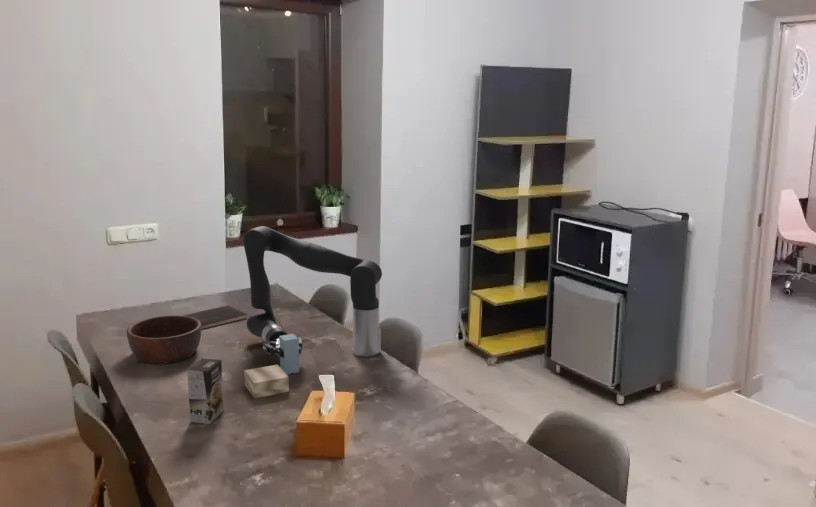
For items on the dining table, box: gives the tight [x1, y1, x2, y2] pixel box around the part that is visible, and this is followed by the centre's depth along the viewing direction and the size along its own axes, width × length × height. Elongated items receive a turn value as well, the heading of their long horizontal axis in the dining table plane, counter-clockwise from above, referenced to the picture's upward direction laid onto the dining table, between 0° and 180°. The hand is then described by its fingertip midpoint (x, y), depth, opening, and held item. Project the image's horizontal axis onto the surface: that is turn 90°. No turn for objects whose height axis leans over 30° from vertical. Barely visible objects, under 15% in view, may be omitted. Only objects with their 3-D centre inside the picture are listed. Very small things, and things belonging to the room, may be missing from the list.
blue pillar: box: [279, 333, 300, 375], centre depth 236 cm, size 5×5×12 cm
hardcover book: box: [182, 304, 248, 330], centre depth 287 cm, size 16×23×2 cm
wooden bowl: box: [126, 314, 202, 365], centre depth 249 cm, size 25×25×10 cm
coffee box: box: [187, 358, 225, 425], centre depth 203 cm, size 9×6×16 cm
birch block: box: [243, 363, 290, 399], centre depth 223 cm, size 11×11×5 cm
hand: (291, 353), depth 234 cm, fingers closed on blue pillar, 5 cm apart
